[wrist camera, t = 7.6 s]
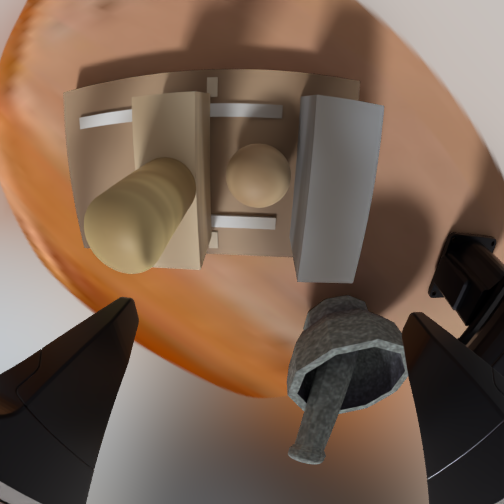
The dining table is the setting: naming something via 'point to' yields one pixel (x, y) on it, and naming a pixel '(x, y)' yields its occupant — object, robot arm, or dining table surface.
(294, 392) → the mortar and pestle
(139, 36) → the dining table surface
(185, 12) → the dining table surface
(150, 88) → the base
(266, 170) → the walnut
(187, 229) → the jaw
